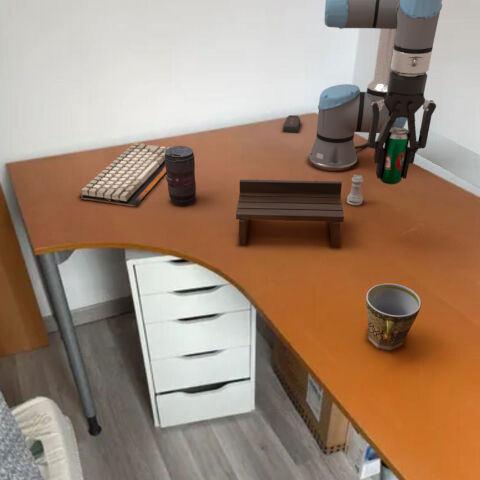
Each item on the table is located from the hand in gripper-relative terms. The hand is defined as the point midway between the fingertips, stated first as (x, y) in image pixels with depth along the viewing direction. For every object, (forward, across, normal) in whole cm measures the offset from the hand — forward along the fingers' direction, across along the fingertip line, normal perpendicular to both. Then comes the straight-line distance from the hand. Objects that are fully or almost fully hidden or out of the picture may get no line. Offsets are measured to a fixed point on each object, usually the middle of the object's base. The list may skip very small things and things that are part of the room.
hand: (390, 175), depth 122 cm
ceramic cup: (+17, -4, -39) cm, 43 cm away
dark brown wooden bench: (+17, -23, +2) cm, 29 cm away
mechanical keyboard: (+18, -71, +34) cm, 81 cm away
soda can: (+1, 0, 0) cm, 1 cm away
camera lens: (+18, -53, +18) cm, 59 cm away
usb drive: (+18, -21, +78) cm, 83 cm away
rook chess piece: (+18, -4, +19) cm, 26 cm away
